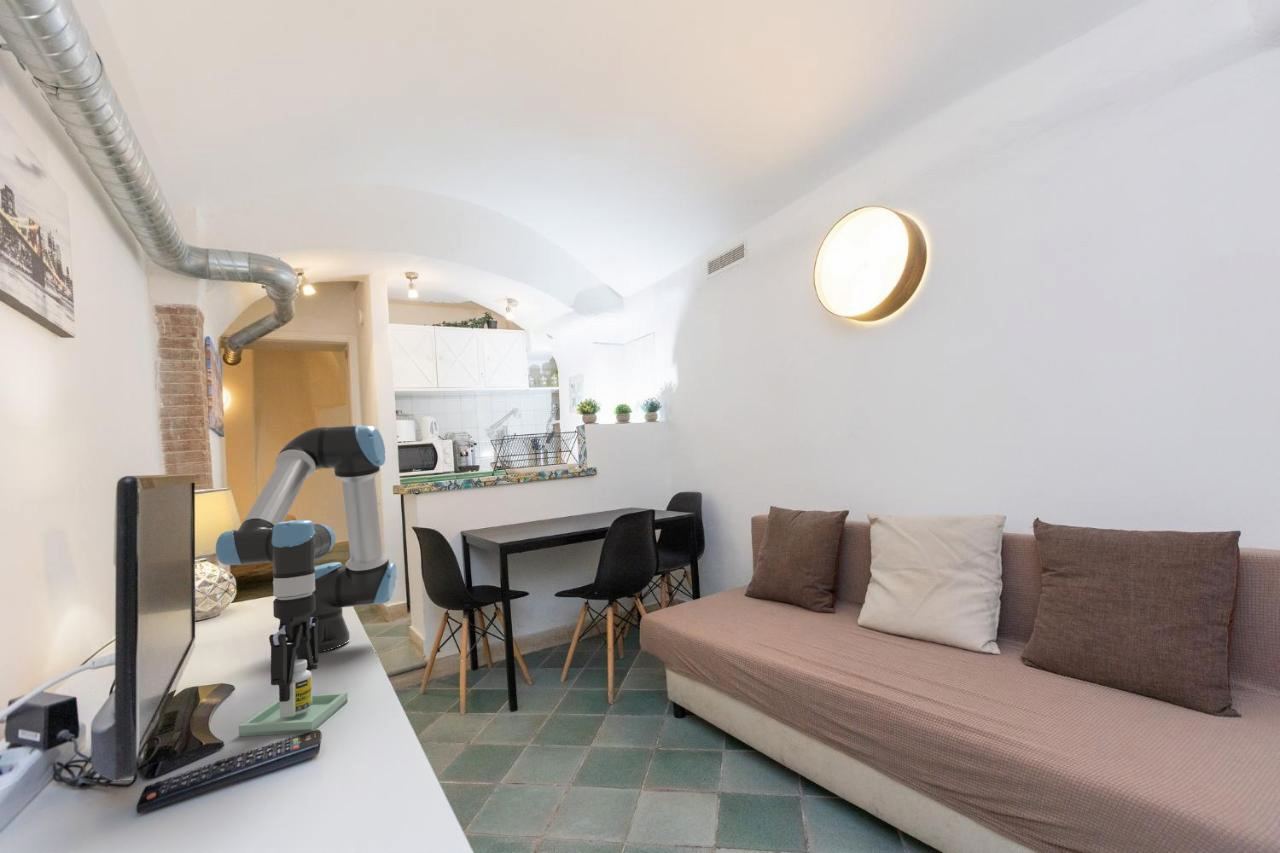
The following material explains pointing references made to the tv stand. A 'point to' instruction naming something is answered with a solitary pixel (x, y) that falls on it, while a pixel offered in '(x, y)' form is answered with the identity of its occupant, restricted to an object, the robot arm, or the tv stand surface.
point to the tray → (300, 723)
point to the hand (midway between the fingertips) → (296, 709)
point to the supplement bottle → (302, 686)
